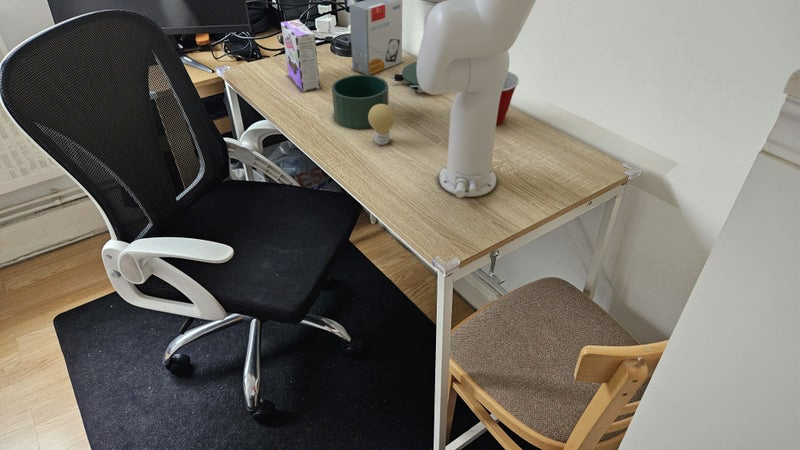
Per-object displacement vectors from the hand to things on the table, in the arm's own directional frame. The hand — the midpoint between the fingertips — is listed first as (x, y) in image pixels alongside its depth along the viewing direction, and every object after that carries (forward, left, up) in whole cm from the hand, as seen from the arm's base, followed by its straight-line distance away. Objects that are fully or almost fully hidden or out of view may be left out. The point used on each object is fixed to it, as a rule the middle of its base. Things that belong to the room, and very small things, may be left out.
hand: (433, 70), depth 129 cm
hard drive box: (+34, +21, -14) cm, 42 cm away
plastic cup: (+2, -16, -14) cm, 21 cm away
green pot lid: (0, 0, -1) cm, 1 cm away
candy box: (+19, +41, -14) cm, 47 cm away
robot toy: (+21, +6, -14) cm, 26 cm away
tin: (0, +19, -14) cm, 23 cm away
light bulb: (-13, +11, -14) cm, 22 cm away
